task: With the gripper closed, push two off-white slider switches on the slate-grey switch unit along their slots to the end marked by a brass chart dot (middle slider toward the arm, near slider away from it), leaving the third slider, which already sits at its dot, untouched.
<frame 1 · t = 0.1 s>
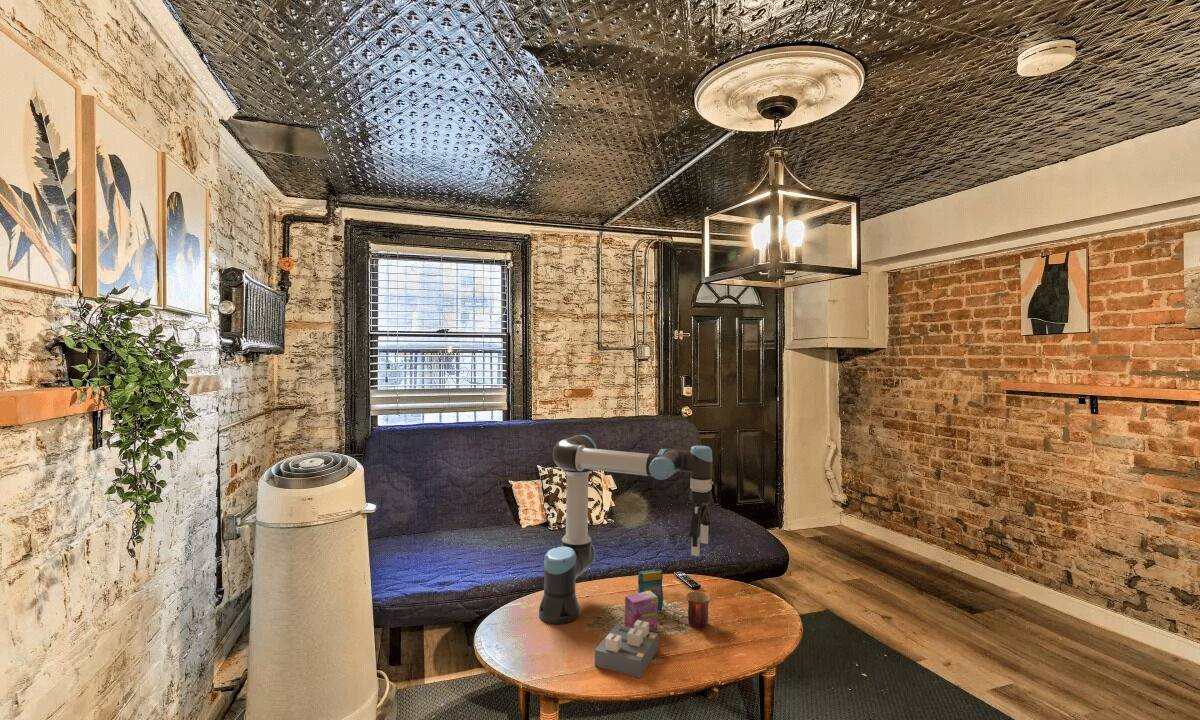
hand: (699, 549, 196), 28 cm above the table, fingers open, 13 cm apart
slider C: (641, 628, 181), point 7 cm above the table, slide at 2.5 cm
slider B: (635, 636, 175), point 7 cm above the table, slide at 2.5 cm
box: (640, 629, 195), on the table
switch unit: (627, 657, 176), on the table
mug: (697, 627, 197), on the table
slider A: (613, 642, 172), point 7 cm above the table, slide at -2.5 cm
teal carton: (650, 612, 208), on the table
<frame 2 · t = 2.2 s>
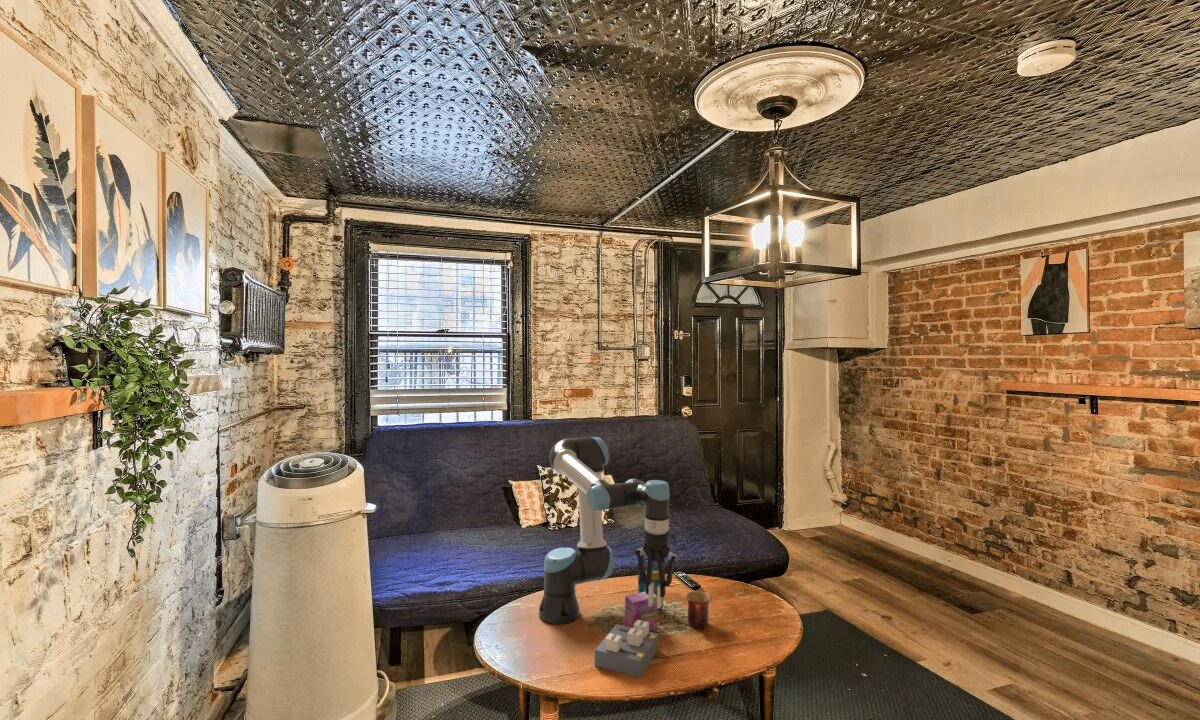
hand: (655, 605, 172), 18 cm above the table, fingers open, 2 cm apart
nothing on the table moved.
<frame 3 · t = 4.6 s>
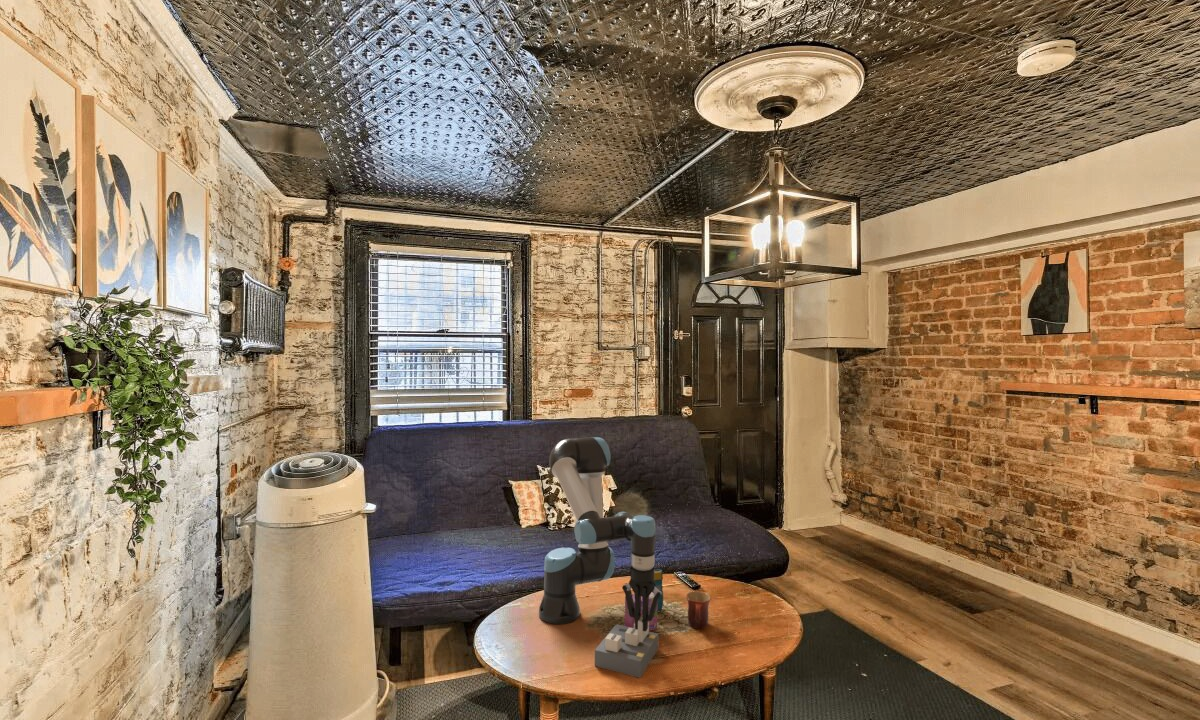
hand: (641, 639, 175), 6 cm above the table, fingers closed
slider B: (632, 636, 175), point 7 cm above the table, slide at 1.7 cm, touching gripper
everything else where it was.
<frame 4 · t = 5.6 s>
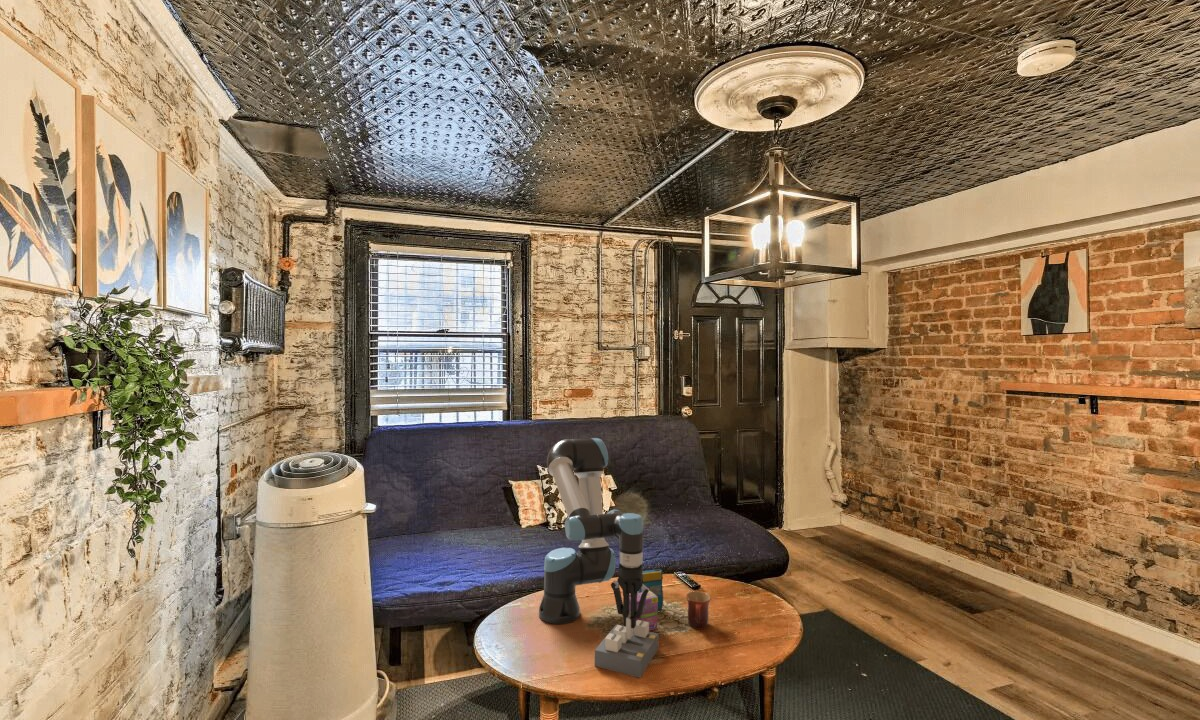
hand: (629, 636, 176), 7 cm above the table, fingers closed
slider B: (621, 633, 177), point 7 cm above the table, slide at -2.2 cm, touching gripper
everything else where it was.
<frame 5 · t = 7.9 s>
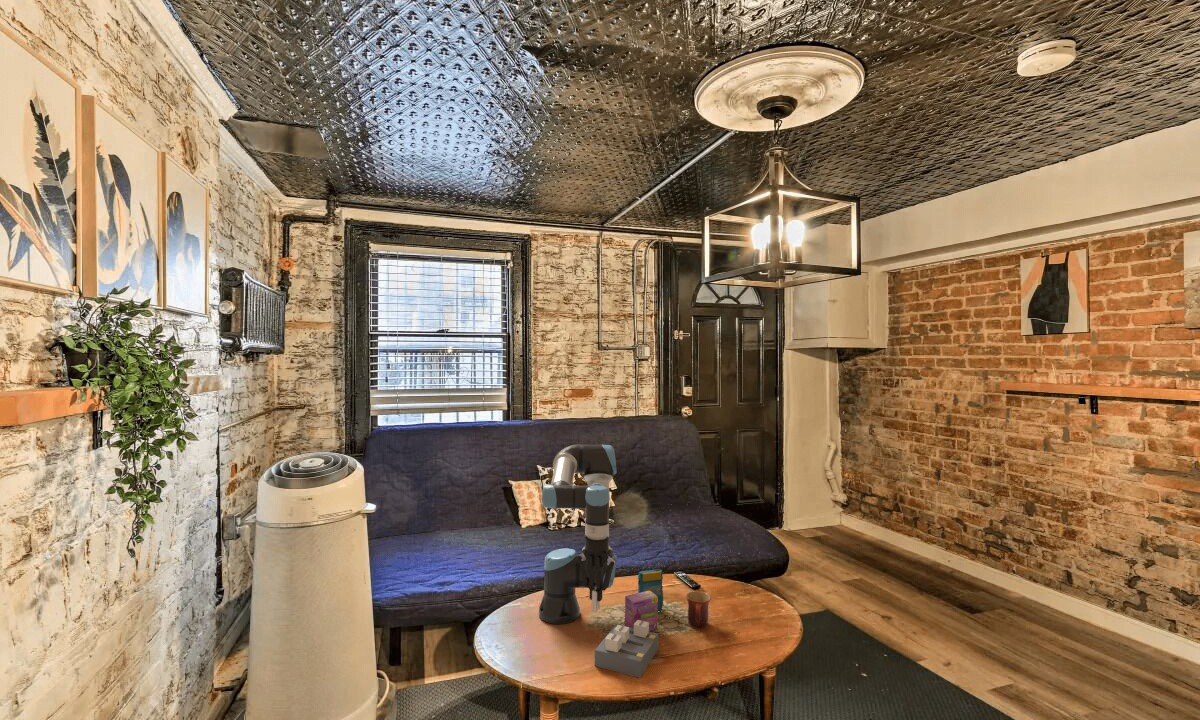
hand: (595, 610, 174), 16 cm above the table, fingers closed
slider B: (621, 633, 177), point 7 cm above the table, slide at -2.2 cm
everything else where it was.
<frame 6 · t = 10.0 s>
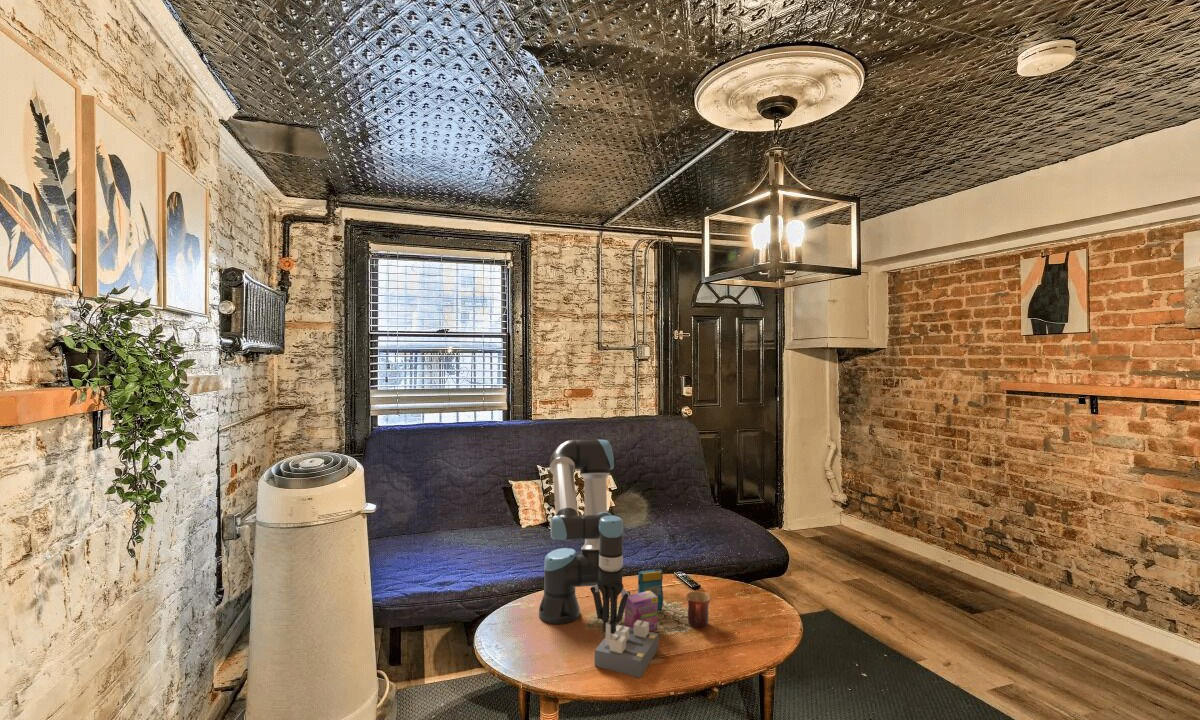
hand: (609, 642, 172), 7 cm above the table, fingers closed
slider A: (617, 643, 171), point 7 cm above the table, slide at -1.1 cm, touching gripper
everything else where it was.
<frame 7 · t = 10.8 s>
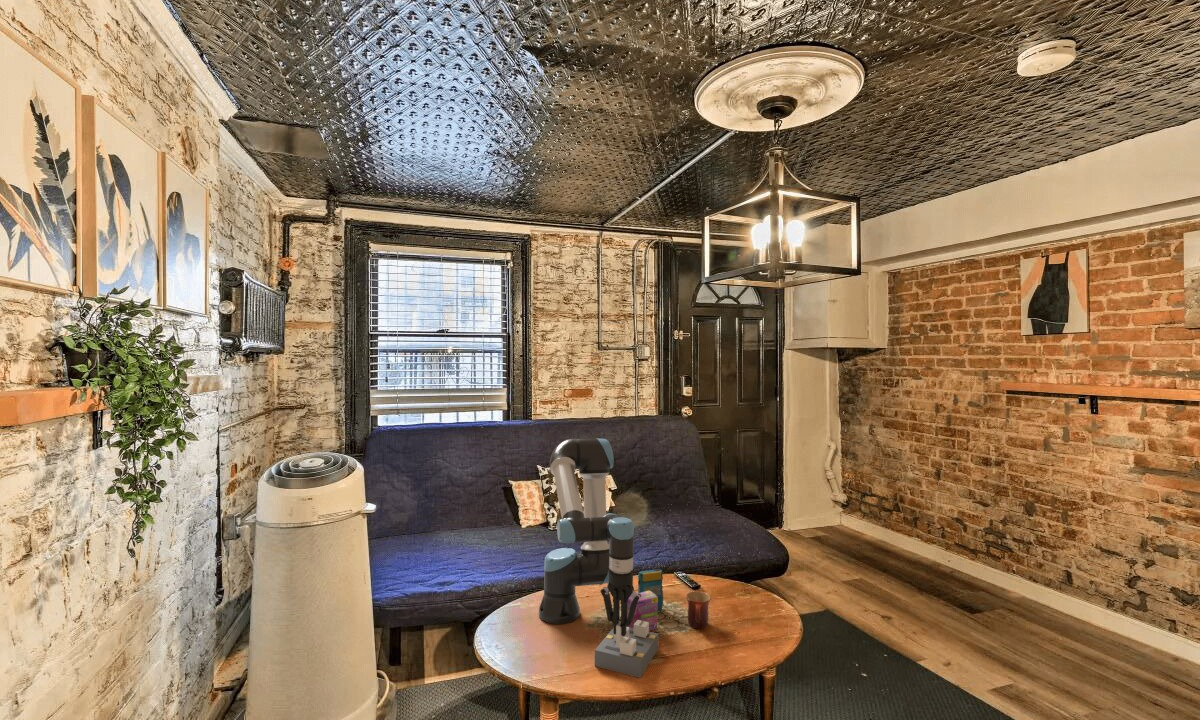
hand: (619, 644, 171), 7 cm above the table, fingers closed
slider A: (628, 645, 170), point 7 cm above the table, slide at 2.4 cm, touching gripper
everything else where it was.
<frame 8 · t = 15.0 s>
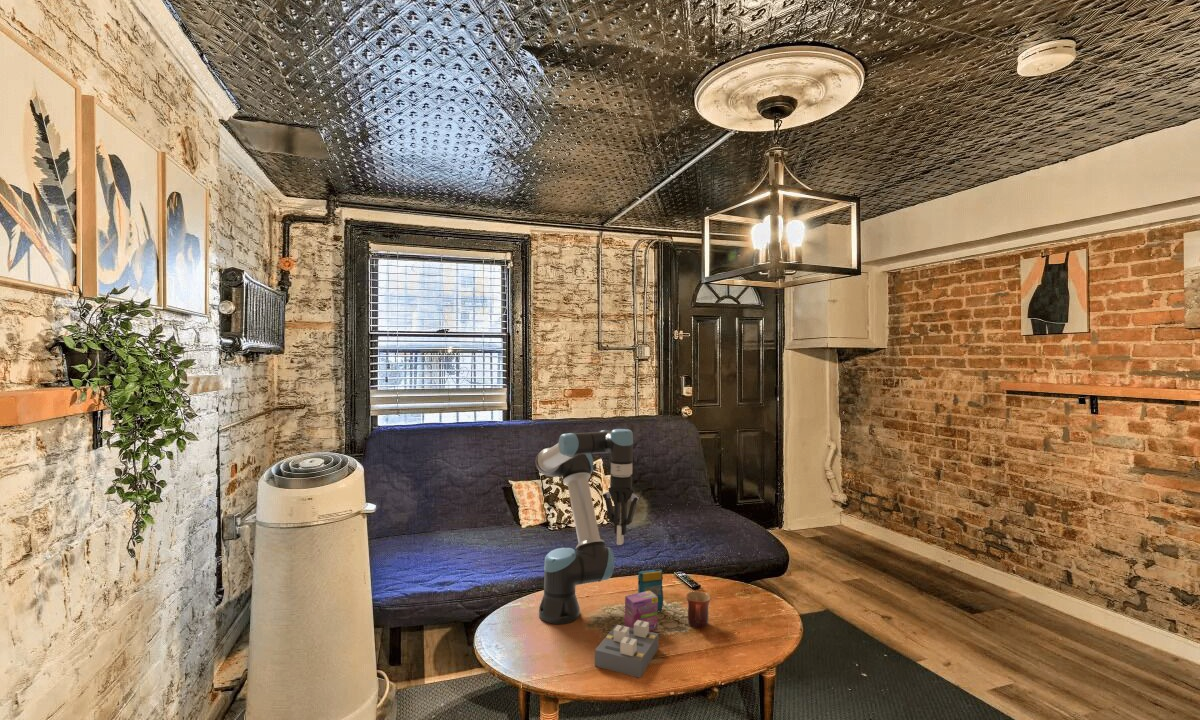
hand: (620, 543, 188), 32 cm above the table, fingers closed
slider A: (628, 645, 170), point 7 cm above the table, slide at 2.5 cm
everything else where it was.
at the end: slider A slide at 2.5 cm; slider B slide at -2.2 cm; slider C slide at 2.5 cm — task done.
